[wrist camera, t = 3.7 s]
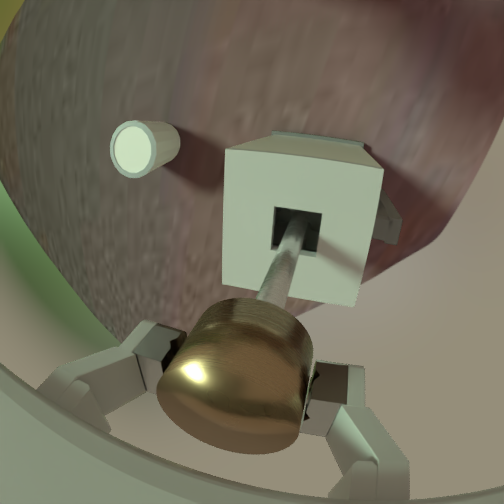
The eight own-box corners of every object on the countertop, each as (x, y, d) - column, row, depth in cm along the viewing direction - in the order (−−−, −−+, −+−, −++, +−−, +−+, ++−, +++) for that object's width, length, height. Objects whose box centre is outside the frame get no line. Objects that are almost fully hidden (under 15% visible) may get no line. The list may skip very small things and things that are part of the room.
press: (267, 213, 38) (216, 287, 23) (273, 130, 34) (219, 142, 18) (368, 229, 36) (388, 317, 20) (382, 145, 31) (426, 172, 15)
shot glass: (133, 137, 38) (101, 144, 32) (167, 107, 35) (136, 108, 29) (157, 176, 40) (127, 189, 34) (194, 149, 37) (166, 157, 31)
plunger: (259, 238, 27) (136, 436, 10) (265, 156, 24) (80, 277, 6) (340, 251, 26) (324, 486, 8) (354, 168, 22) (411, 347, 5)
